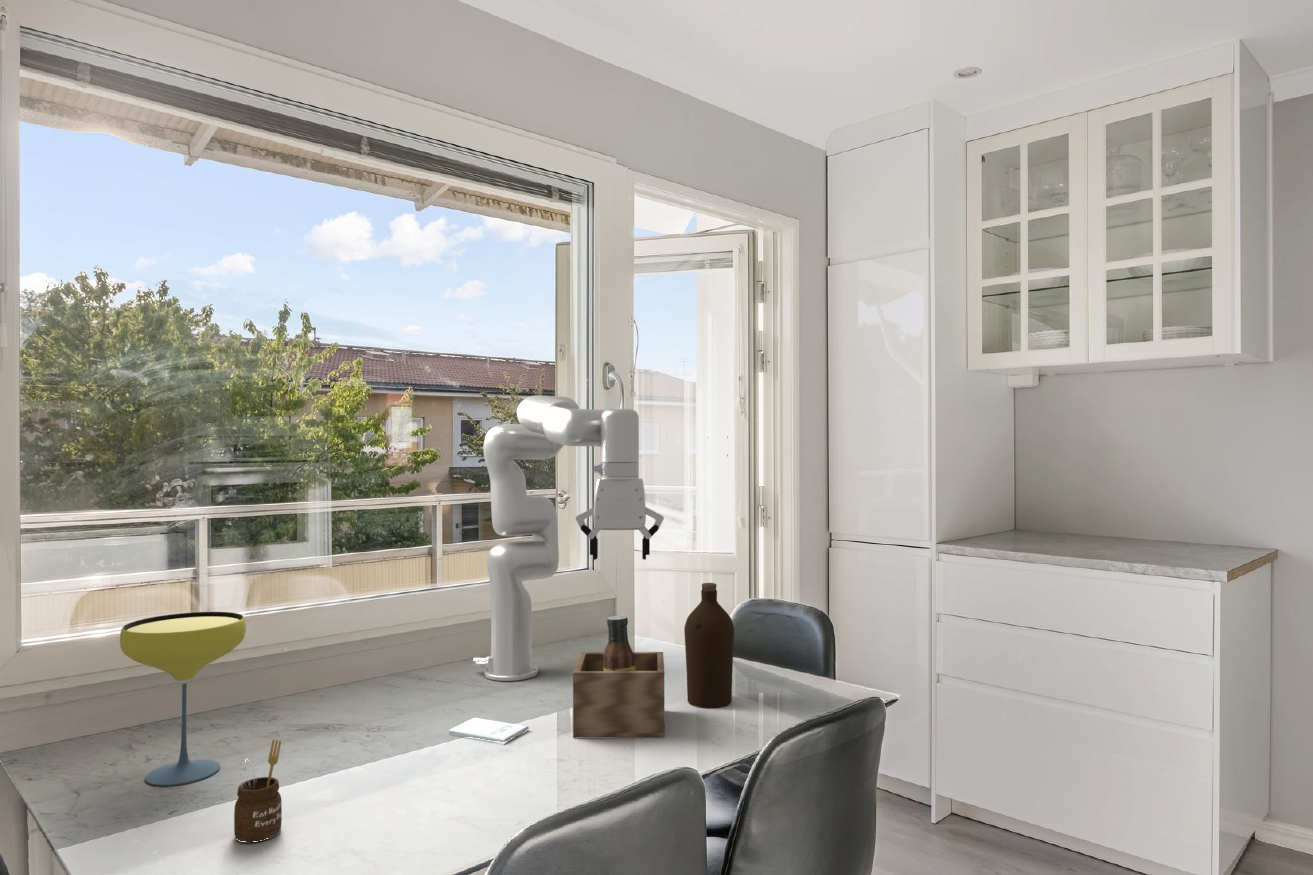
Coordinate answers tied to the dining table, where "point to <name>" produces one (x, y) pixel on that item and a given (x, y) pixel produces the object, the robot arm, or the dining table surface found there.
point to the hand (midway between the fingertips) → (619, 558)
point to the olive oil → (709, 652)
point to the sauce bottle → (618, 646)
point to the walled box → (619, 697)
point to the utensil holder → (258, 804)
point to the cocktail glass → (182, 668)
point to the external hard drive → (487, 730)
